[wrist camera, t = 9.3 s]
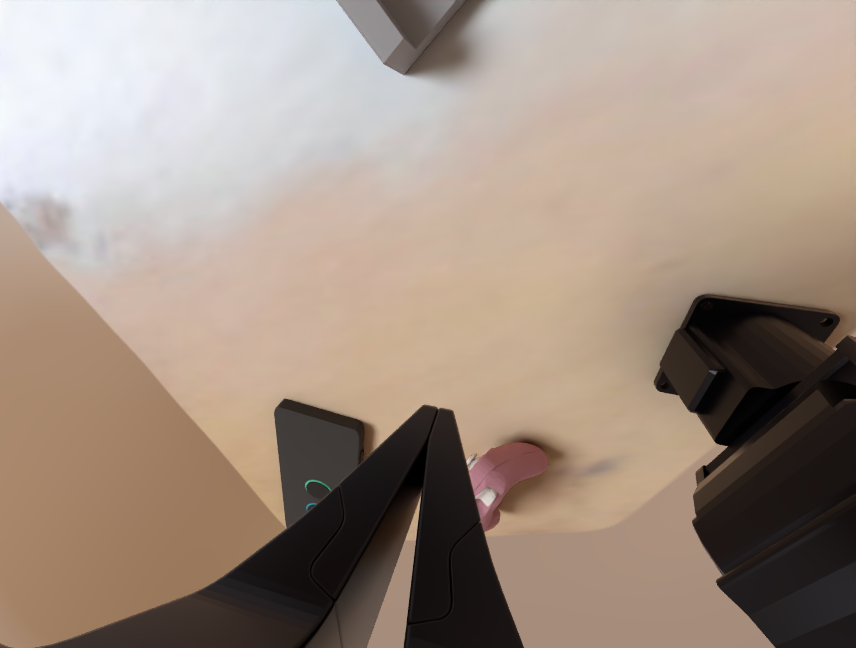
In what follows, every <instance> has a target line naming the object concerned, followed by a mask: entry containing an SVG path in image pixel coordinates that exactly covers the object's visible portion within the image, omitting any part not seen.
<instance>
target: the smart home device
mask: <svg viewBox="0 0 856 648" xmlns="http://www.w3.org/2000/svg"><path fill="white" fill-rule="evenodd" d="M274 416H275V425H276V435H277V444H278V454H279V463H280V473H281V482H282V492H283V501H284V511H285V520H286V527H287V528H288V527H289V526H290V525H292V524H293V523H294V522H295V521H297V520H298V519H299V518H300V517H302V516H303V515H304V514H306V513H307V512H308V511H309V510H310V509H311V508H313V507H314V506H315V505H316V504H317V503H318V502H319V501H320V500H322V499H323V498H324V497H325V496H326V495H327V494H328V493H329V492H330V491H331V490H332V489H333V488H335V487H336V486H339V483H340V482H341V481H342V480H343V479H344V478H345V477H347V476H348V475H349V474H350V473H351V472H352V471H353V470H354V469H355V468H356V467H357V466H358V465H359V464H360V463H362V462H363V452H364V450H363V439H364V426H363V423H362V422H361V421H360V420H356V419H353V418H350V417H346V416H343V415H339V414H336V413H333V412H329V411H326V410H322V409H319V408H316V407H312V406H309V405H305V404H302V403H299V402H295V401H292V400H288V399H283V401H282V402H281V403H280V404H279V405H278V406H277V407H276V409H275V412H274Z"/></svg>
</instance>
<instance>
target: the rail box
mask: <svg viewBox="0 0 856 648" xmlns="http://www.w3.org/2000/svg"><path fill="white" fill-rule="evenodd" d="M336 1H337V2H338V3H339V5H340V6H341V7H342V9H343V10H344V11H345V13H346V14H347V15H348V17H349V18H350V20H351V21H352V22H353V24H354V25H355V26H356V28H357V29H358V30H359V32H360V33H361V34H362V36H363V37H364V38H365V40H366V41H367V42H368V44H369V45H370V46H371V48H372V49H373V50H374V52H375V53H376V54H377V56H378V57H379V58H380V60H381V61H382V62H383V64H385V65H387V66H388V67H390V68H392V69H394V70H395V71H397V72H399V73H401V74H403V75H404V74H405V73H406V72H407V70H408V69H409V68H410V67H411V66H412V64H413V63H414V62H415V61H416V60H417V58H418V57H419V56H420V55H421V54H422V52H423V51H424V50H425V49H426V48H427V46H428V45H429V44H430V43H431V42H432V40H433V39H434V38H435V37H436V36H437V34H438V33H439V32H440V31H441V30H442V28H443V27H444V26H445V25H446V24H447V22H448V21H449V20H450V19H451V17H452V16H453V15H454V14H455V13H456V11H457V10H458V9H459V8H460V7H461V5H462V4H463V3H464V2H465V1H466V0H336Z"/></svg>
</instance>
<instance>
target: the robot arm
mask: <svg viewBox="0 0 856 648" xmlns="http://www.w3.org/2000/svg"><path fill="white" fill-rule="evenodd" d="M705 302H709V304H708V305H707V306H705V307H701V306H702V304H703V303H705ZM826 318H827V320H826V321H824V322H822V323H820V322H821V321H822V320H823V319H826ZM839 321H840V318H839V317H838V316H837V315H836V314H834V313H832V312H830V311H827V310H820V309H813V308H805V307H798V306H790V305H783V304H775V303H768V302H760V301H753V300H745V299H737V298H730V297H722V296H715V295H701V296H699V297H697V298H696V299H695V300H694V301H693V303H692V305H691V307H690V309H689V311H688V313H687V315H686V317H685V319H684V321H683V323H682V325H681V327H680V328H679V329H678V330H676V332H675V334H674V336H673V338H672V340H671V342H670V344H669V346H668V348H667V350H666V352H665V354H664V356H663V358H662V360H661V362H660V366H661V368H660V370H659V372H658V374H657V376H656V378H655V380H654V385H655V387H656V389H657V390H658V391H660V392H664V393H669V394H675V395H679V396H680V398H681V400H682V401H683V403H684V404H685V406H686V407H687V409H688V410H689V411H690V412H692V413H696V414H697V415H698V417H699V418H700V420H701V421H702V423H703V424H704V426H705V427H706V429H707V431H708V432H709V434H710V435H711V437H712V438H713V440H714V441H715V443H717V444H719V445H725V446H728V447H727V448H726V449H725V450H724V451H723V452H722V453H721V454H719V455H718V456H717V457H716V458H715V459H714V460H713V461H712V462H711V463H709V464H708V465H707V466H702V467H701V468H700V469H699V470H698V471H696V481H697V488H696V490H695V492H694V495H693V499H694V506H695V513H696V516H697V517H695V518H694V519H693V520H692V523H693V526H694V529H695V531H696V533H697V535H698V537H699V539H700V541H701V543H702V545H703V547H704V548H705V550H706V551H707V553H708V554H709V556H710V557H711V559H712V560H713V562H714V563H715V565H716V566H717V568H718V570H719V571H720V572H721V574H722V575H723V576H722V577H720V578H719V579H717V580H716V582H717V585H718V586H719V588H720V589H721V590H722V591H723V592H724V593H725V594H726V595H727V596H728V597H729V598H730V599H731V600H732V601H733V602H735V604H737V605H738V606H739V607H740V608H741V609H742V610H743V611H744V612H745V613H746V614H747V615H748V616H749V617H750V618H751V620H752V621H753V622H754V623H755V624H756V625H757V626H758V628H759V629H760V630H761V631H762V632H763V634H764V635H765V636H766V637H767V638H768V639H769V641H770V642H771V643H772V644H773V645H774V646H775V647H776V648H856V337H853V336H849V335H847V336H846V337H845V338H844V339H843V340H842V341H841V342H840V343H839V344H837V345H836V348H837V350H836V351H834V350H833V349H831V348H830V347H828V346H827V345H825V344H824V342H825V341H826V340H827V338H828V337H829V336H830V334H831V333H832V332H833V330H834V329H835V328H836V326H837V325H838V324H839ZM662 383H667V384H665V385H661V384H662ZM421 493H422V494H421ZM420 496H421V503H420V511H419V520H418V529H417V537H416V546H415V555H414V564H413V573H412V581H411V590H410V598H409V607H408V616H407V625H406V633H405V641H404V648H524V647H523V644H522V641H521V639H520V636H519V633H518V631H517V628H516V625H515V623H514V620H513V617H512V615H511V612H510V610H509V607H508V604H507V602H506V599H505V596H504V594H503V591H502V588H501V585H500V582H499V580H498V577H497V574H496V571H495V568H494V565H493V562H492V559H491V555H490V552H489V548H488V545H487V541H486V537H485V533H484V529H483V525H482V523H481V518H480V514H479V510H478V506H477V502H476V498H475V494H474V490H473V486H472V483H471V479H470V475H469V471H468V467H467V463H466V459H465V455H464V451H463V447H462V443H461V439H460V435H459V431H458V427H457V423H456V419H455V415H454V412H453V411H452V410H449V409H445V408H439V409H438V408H437V407H435V406H430V405H423V406H422V407H420V408H419V409H418V410H417V411H416V412H415V413H414V414H413V415H412V416H411V417H410V418H409V419H408V420H407V421H405V422H404V423H403V424H402V425H401V426H400V427H399V428H398V429H397V430H396V431H395V432H394V433H393V434H392V435H390V436H389V437H388V438H387V439H386V440H385V441H384V442H383V443H382V444H381V445H380V446H379V447H378V448H377V449H375V450H374V451H373V452H372V453H371V454H370V455H369V456H368V457H367V458H366V459H365V460H364V461H363V462H362V463H360V464H359V465H358V466H357V467H356V468H355V469H354V470H353V471H352V472H351V473H350V474H349V475H348V476H347V477H345V478H344V479H343V480H342V481H341V482H340V483H339V486H336V487H335V488H333V489H332V490H331V491H330V492H329V493H328V494H327V495H326V496H325V497H324V498H323V499H322V500H320V501H319V502H318V503H317V504H316V505H315V506H314V507H313V508H311V509H310V510H309V511H308V512H307V513H306V514H304V515H303V516H302V517H300V518H299V519H298V520H297V521H295V522H294V523H293V524H292V525H290V526H289V527H288V528H287V529H285V530H284V531H283V532H281V533H280V534H279V535H278V536H276V537H275V538H273V539H272V540H271V541H270V542H268V543H267V544H266V545H264V546H263V547H262V548H260V549H259V550H258V551H256V552H255V553H254V554H252V555H251V556H250V557H249V558H247V559H246V560H245V561H243V562H242V563H241V564H239V565H238V566H237V567H235V568H234V569H233V570H231V571H230V572H229V573H227V574H226V575H224V576H223V577H222V578H220V579H218V580H217V581H215V582H213V583H212V584H210V585H208V586H207V587H205V588H203V589H201V590H199V591H196V592H194V593H192V594H190V595H187V596H185V597H182V598H179V599H176V600H174V601H171V602H169V603H166V604H163V605H160V606H158V607H155V608H152V609H149V610H147V611H144V612H142V613H138V614H136V615H133V616H130V617H128V618H125V619H122V620H119V621H117V622H114V623H111V624H109V625H106V626H104V627H100V628H98V629H95V630H92V631H90V632H87V633H84V634H81V635H79V636H76V637H74V638H71V639H68V640H64V641H61V642H58V643H55V644H51V645H46V646H41V647H36V648H367V645H368V642H369V639H370V637H371V634H372V631H373V628H374V625H375V622H376V619H377V617H378V614H379V611H380V608H381V606H382V603H383V600H384V597H385V594H386V592H387V589H388V586H389V583H390V580H391V578H392V574H393V572H394V569H395V566H396V563H397V560H398V558H399V555H400V552H401V549H402V547H403V544H404V541H405V538H406V535H407V533H408V530H409V527H410V524H411V521H412V519H413V516H414V513H415V510H416V507H417V505H418V502H419V499H420ZM0 648H11V647H8V646H5V645H3V644H0Z"/></svg>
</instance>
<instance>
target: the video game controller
mask: <svg viewBox="0 0 856 648" xmlns="http://www.w3.org/2000/svg"><path fill="white" fill-rule="evenodd" d="M476 456H477V454H473V455H471V456H470V457H469V458H468V460H467V467H468V466H469V464H470V469H469V470H470V471H469V475H470V479H471V483H472V486H473V490H474V494H475V498H476V502H477V506H478V510H479V514H480V518H481V523H482V525H483V529H484V532H485V531H488V530H490V529H492V528H493V527H495V526H496V525H497V524H498V522H499V520H500V511H499V509H498V507H497V506H498V505H499V503H500V502H501V501H502V499H503V498H504V496H505V494H506V493H507V491H508V490H509V489H510V488H511V487H512V486H513V485H515V484H516V483H518V482H520V481H523V480H525V479H528V478H531V477H534V476H538V475H540V474H541V473H543V472H544V471H545V470H546V469H547V466H548V458H547V455H546V454H545V453H544V451H543V450H542V449H540V448H539V447H537V446H535V445H532V444H528V443H519V442H517V443H510V444H507V445H503V446H500V447H497V448H495V449H493V448H491V449H490V450H489V451H488V452H487V453H486V454H485V455H483V456H482V457H478V458H476V459H475V457H476Z"/></svg>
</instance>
